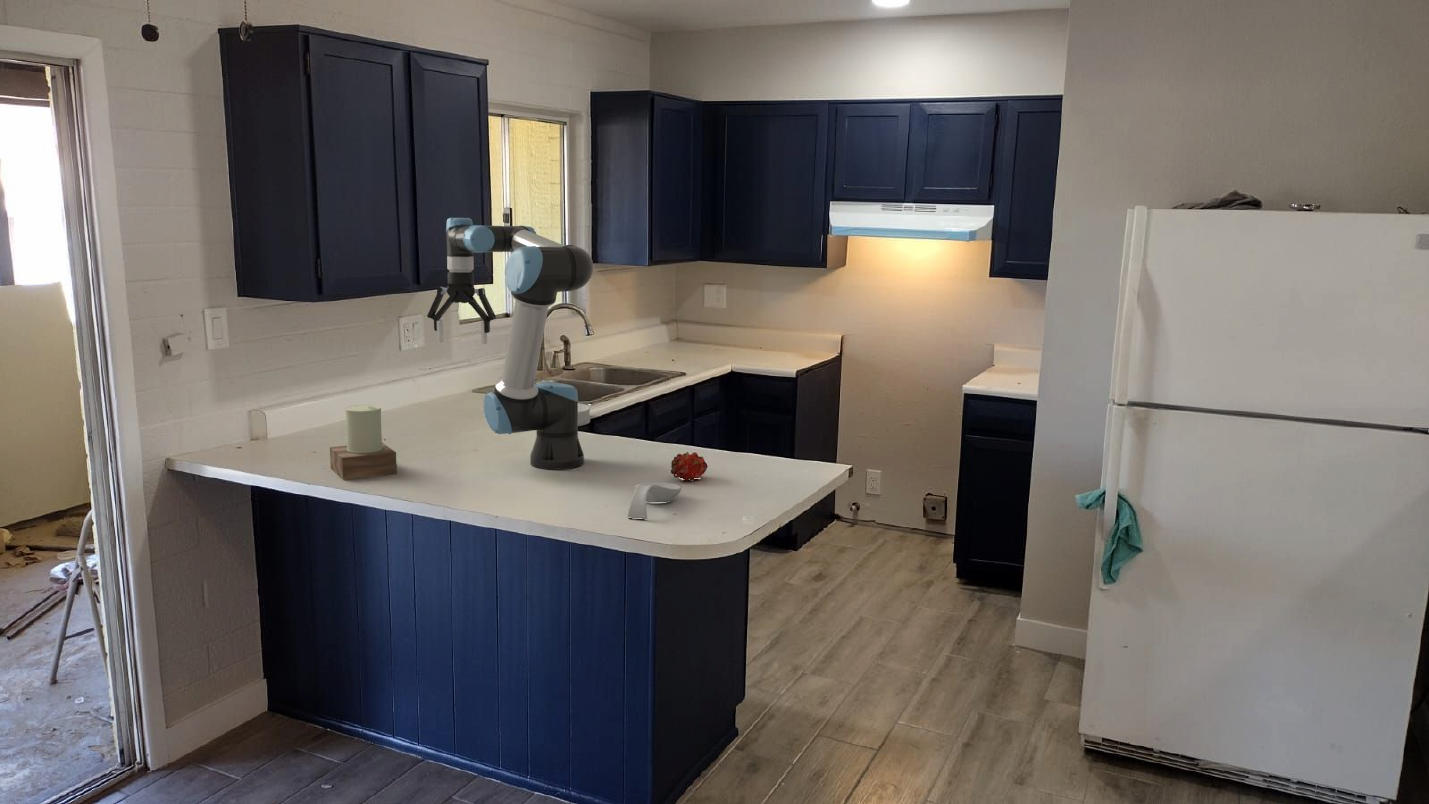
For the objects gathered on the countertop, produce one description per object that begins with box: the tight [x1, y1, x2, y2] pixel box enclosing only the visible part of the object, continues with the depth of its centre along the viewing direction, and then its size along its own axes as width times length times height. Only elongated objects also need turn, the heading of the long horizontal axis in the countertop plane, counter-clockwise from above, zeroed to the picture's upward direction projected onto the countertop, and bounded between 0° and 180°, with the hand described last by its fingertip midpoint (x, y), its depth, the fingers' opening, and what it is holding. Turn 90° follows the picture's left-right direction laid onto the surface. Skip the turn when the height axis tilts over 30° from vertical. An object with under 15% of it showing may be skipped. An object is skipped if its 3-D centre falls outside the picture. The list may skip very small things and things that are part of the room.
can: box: [345, 404, 383, 453], centre depth 275 cm, size 9×9×12 cm
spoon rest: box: [627, 482, 682, 520], centre depth 250 cm, size 24×12×7 cm, turn 168°
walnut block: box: [329, 442, 398, 481], centre depth 277 cm, size 14×14×6 cm
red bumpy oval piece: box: [670, 451, 709, 481], centre depth 276 cm, size 8×8×12 cm
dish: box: [578, 402, 591, 427], centre depth 350 cm, size 22×22×5 cm
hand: (462, 343), depth 303 cm, fingers open, 13 cm apart
